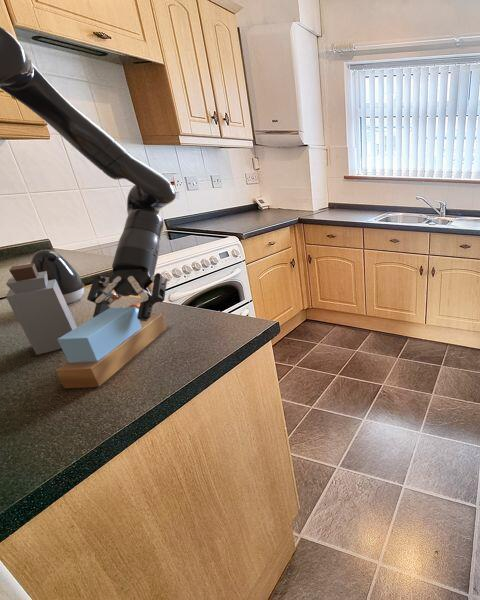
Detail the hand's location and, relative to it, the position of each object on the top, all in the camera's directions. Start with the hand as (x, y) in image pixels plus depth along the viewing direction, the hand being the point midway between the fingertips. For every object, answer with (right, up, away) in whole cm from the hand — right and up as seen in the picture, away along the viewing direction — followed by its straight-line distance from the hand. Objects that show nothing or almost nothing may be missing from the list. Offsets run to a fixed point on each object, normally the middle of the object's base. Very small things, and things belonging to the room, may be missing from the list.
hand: (121, 321), depth 71 cm
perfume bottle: (-18, -5, +5) cm, 19 cm away
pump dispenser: (-37, +4, +26) cm, 45 cm away
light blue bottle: (0, -3, -1) cm, 4 cm away
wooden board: (0, -7, 0) cm, 7 cm away
